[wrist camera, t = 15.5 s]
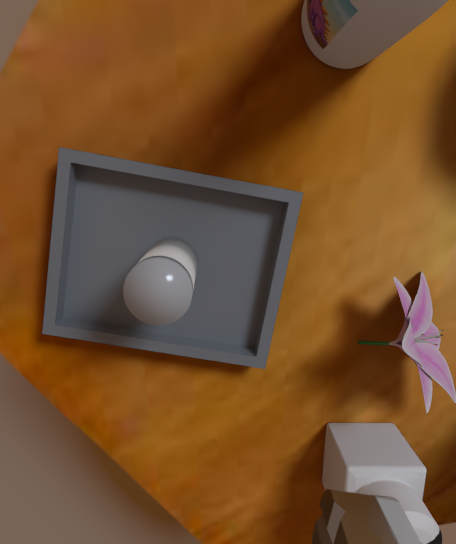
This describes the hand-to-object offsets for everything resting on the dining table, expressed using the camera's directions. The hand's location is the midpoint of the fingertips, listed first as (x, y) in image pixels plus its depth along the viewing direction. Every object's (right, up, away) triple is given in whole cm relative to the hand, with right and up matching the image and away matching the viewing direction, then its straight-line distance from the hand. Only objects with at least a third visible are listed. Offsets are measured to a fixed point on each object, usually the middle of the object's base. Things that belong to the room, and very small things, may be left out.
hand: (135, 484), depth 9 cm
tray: (-3, +6, +30) cm, 30 cm away
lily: (+18, 0, +32) cm, 37 cm away
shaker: (-3, +5, +29) cm, 29 cm away
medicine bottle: (+15, -14, +35) cm, 41 cm away
